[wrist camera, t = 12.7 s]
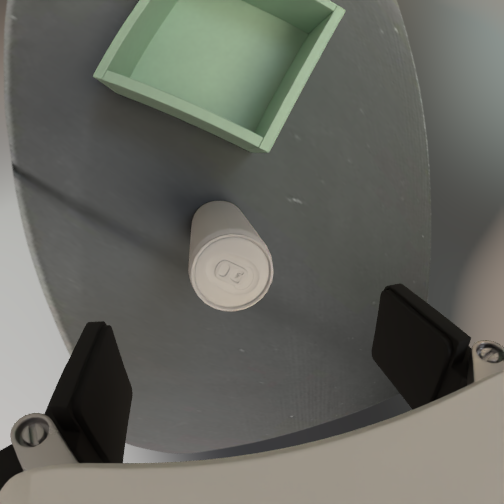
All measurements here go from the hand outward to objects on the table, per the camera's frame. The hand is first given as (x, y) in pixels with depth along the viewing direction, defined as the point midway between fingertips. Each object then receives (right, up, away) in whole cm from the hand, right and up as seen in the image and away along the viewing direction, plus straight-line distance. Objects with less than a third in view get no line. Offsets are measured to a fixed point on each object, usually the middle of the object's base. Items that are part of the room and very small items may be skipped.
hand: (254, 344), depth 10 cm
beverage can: (-3, +5, +19) cm, 20 cm away
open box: (-3, +20, +14) cm, 25 cm away
